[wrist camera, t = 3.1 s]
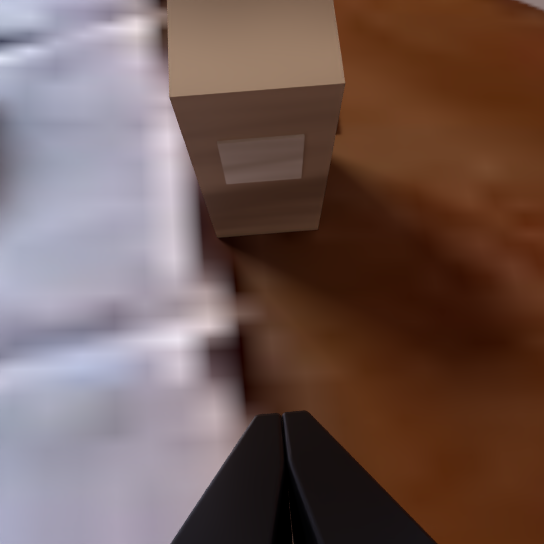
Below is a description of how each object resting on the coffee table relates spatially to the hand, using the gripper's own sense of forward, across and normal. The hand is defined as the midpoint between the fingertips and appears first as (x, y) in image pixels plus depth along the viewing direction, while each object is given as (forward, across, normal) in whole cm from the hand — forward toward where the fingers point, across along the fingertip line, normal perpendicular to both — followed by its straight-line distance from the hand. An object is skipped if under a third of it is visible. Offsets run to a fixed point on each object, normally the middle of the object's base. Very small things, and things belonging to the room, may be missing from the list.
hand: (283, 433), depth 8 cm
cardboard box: (+16, 0, -1) cm, 16 cm away
